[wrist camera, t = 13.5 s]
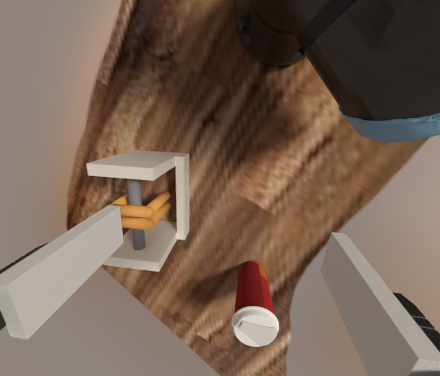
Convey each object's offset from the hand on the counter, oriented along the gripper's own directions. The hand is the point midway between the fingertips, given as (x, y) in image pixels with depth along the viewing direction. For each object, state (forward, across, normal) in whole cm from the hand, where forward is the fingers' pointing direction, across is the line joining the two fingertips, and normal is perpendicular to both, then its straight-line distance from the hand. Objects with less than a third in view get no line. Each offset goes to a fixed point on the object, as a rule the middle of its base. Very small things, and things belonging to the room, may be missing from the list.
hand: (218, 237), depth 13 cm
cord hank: (+25, -17, -10) cm, 31 cm away
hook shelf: (+29, -17, -10) cm, 35 cm away
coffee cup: (+30, +6, -28) cm, 41 cm away
